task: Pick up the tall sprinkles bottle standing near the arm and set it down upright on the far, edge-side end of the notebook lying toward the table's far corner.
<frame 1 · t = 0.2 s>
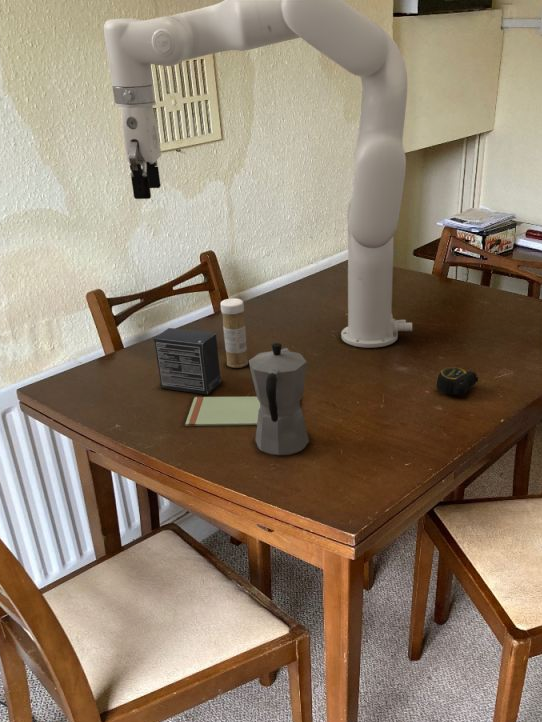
hand: (147, 193, 154), 31 cm above the table, tool pointing down, fingers open, 9 cm apart
notebook: (244, 411, 142), on the table
coffeepot: (281, 446, 131), on the table
small box: (191, 386, 152), on the table
sprinkles bottle: (237, 365, 160), on the table
tape measure: (457, 392, 148), on the table
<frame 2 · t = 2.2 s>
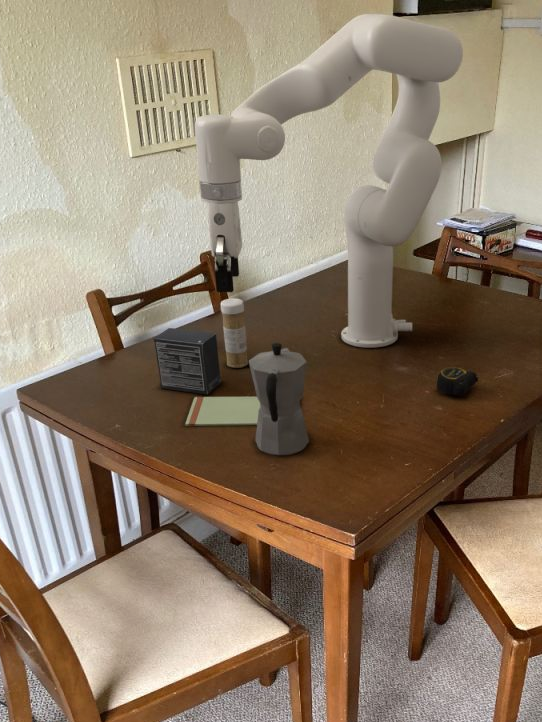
hand: (228, 283, 150), 17 cm above the table, tool pointing down, fingers open, 9 cm apart
nothing on the table moved.
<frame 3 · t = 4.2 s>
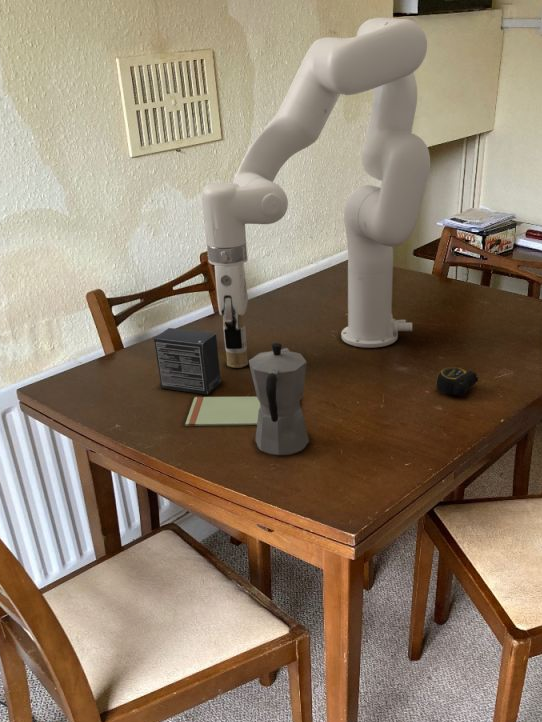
hand: (235, 342, 157), 5 cm above the table, tool pointing down, fingers closed on sprinkles bottle, 4 cm apart
sprinkles bottle: (237, 365, 160), on the table, touching gripper
everything else where it was.
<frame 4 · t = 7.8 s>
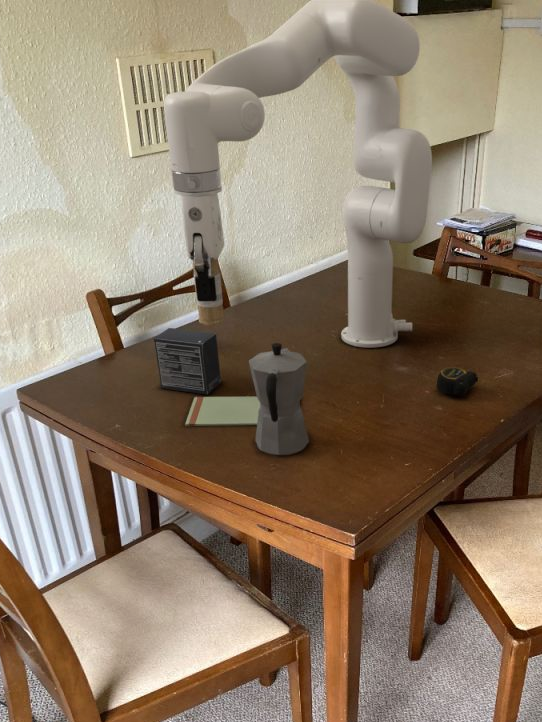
hand: (209, 294, 131), 22 cm above the table, tool pointing down, fingers closed on sprinkles bottle, 4 cm apart
sprinkles bottle: (211, 323, 134), point 17 cm above the table, touching gripper
everything else where it was.
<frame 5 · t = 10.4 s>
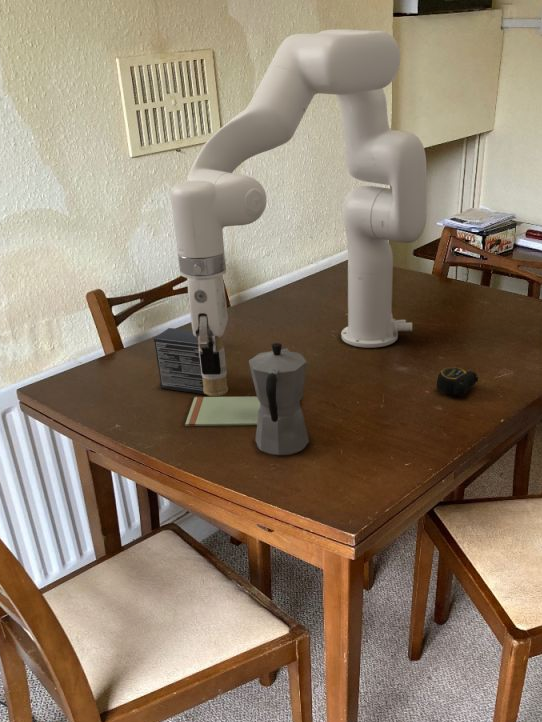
hand: (213, 366, 135), 10 cm above the table, tool pointing down, fingers closed on sprinkles bottle, 4 cm apart
sprinkles bottle: (216, 392, 138), point 5 cm above the table, touching gripper
everything else where it was.
when the fingers open (5 cm above the table, at t = 11.8 s): sprinkles bottle stays where it is, resting on notebook.
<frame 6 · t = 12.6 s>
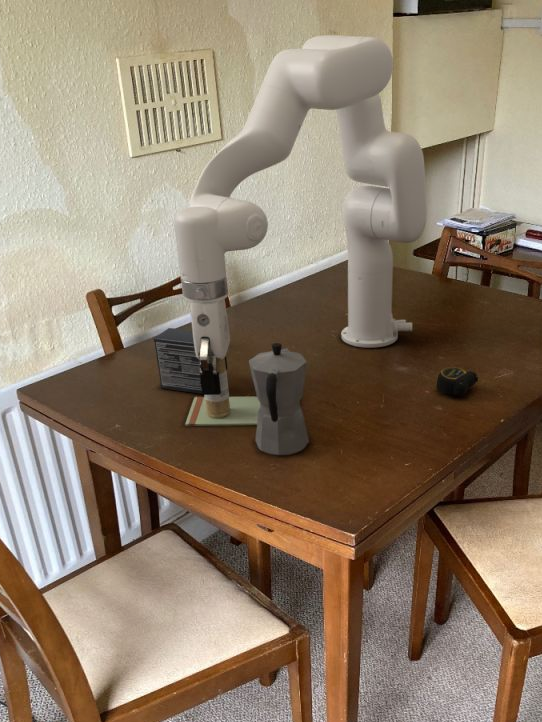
hand: (215, 382, 137), 7 cm above the table, tool pointing down, fingers open, 9 cm apart
sprinkles bottle: (218, 414, 141), resting on notebook
everything else where it was.
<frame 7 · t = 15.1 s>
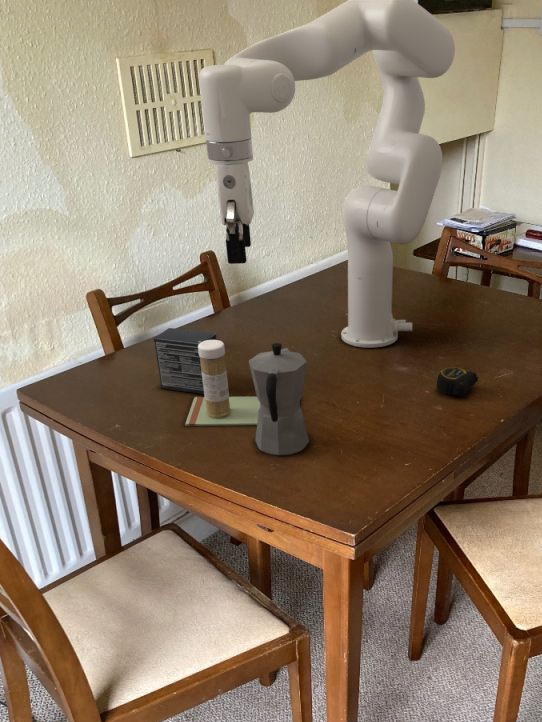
hand: (239, 254, 138), 25 cm above the table, tool pointing down, fingers open, 9 cm apart
nothing on the table moved.
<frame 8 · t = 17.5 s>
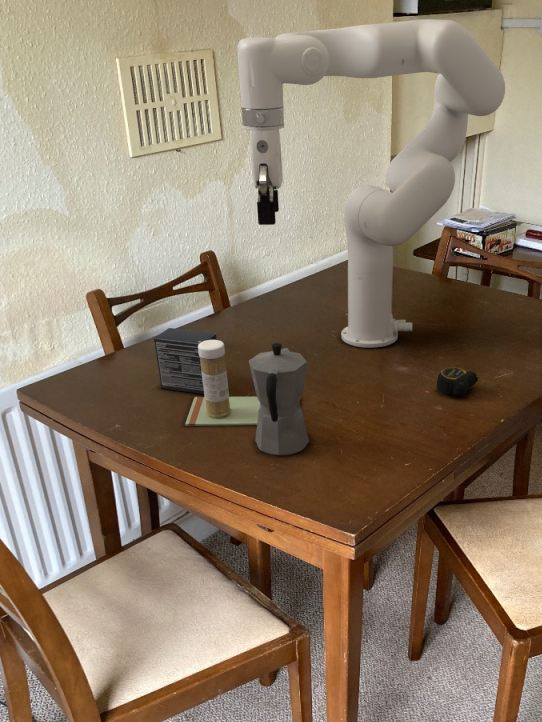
hand: (268, 217, 147), 28 cm above the table, tool pointing down, fingers open, 9 cm apart
nothing on the table moved.
at the end: sprinkles bottle 0.8 cm from the target spot on the notebook, point 0.2 cm above the notebook's base; sprinkles bottle touching notebook; sprinkles bottle tilted 0° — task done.
